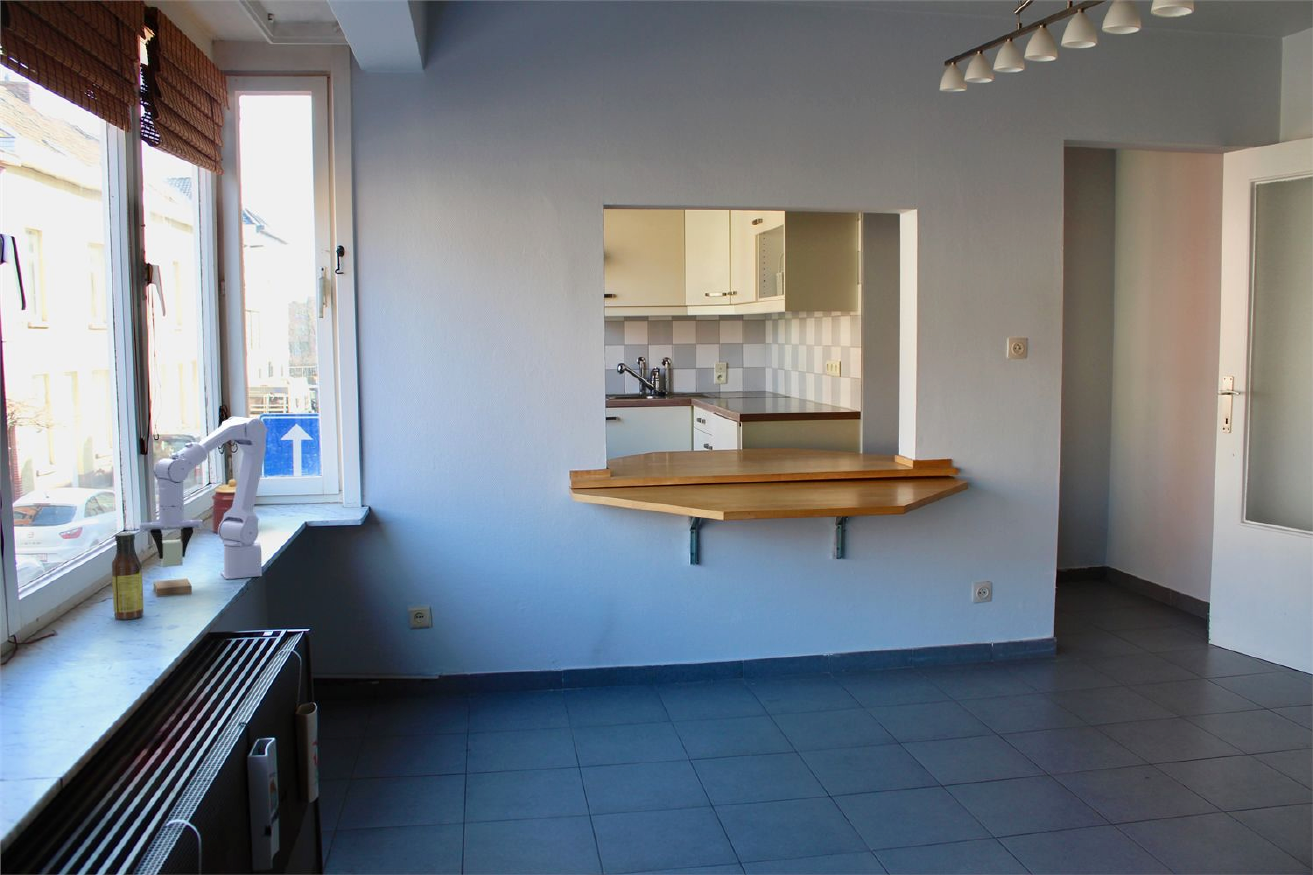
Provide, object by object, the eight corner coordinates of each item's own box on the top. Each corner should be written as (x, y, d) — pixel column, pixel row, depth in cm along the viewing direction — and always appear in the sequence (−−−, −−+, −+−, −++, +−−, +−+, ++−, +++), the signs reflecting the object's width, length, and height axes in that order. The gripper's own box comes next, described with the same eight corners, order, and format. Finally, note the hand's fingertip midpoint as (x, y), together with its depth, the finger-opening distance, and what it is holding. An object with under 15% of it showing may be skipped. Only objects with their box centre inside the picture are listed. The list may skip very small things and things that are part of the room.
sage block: (180, 562, 263) (180, 539, 263) (182, 565, 259) (182, 542, 259) (161, 563, 261) (160, 540, 260) (163, 566, 257) (163, 543, 257)
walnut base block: (187, 587, 266) (187, 578, 266) (191, 595, 259) (191, 585, 259) (153, 591, 262) (153, 581, 261) (157, 598, 255) (157, 588, 255)
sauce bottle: (149, 615, 238) (148, 532, 236) (128, 621, 232) (126, 537, 230) (128, 611, 240) (126, 530, 238) (106, 618, 234) (104, 534, 233)
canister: (243, 535, 334) (243, 482, 333) (205, 533, 334) (204, 481, 333) (259, 527, 347) (259, 477, 346) (222, 526, 347) (222, 476, 346)
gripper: (141, 509, 251) (142, 562, 252) (204, 506, 259) (204, 557, 260) (138, 505, 257) (139, 557, 258) (200, 501, 265) (200, 552, 266)
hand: (171, 557), depth 260 cm, fingers closed on sage block, 4 cm apart
